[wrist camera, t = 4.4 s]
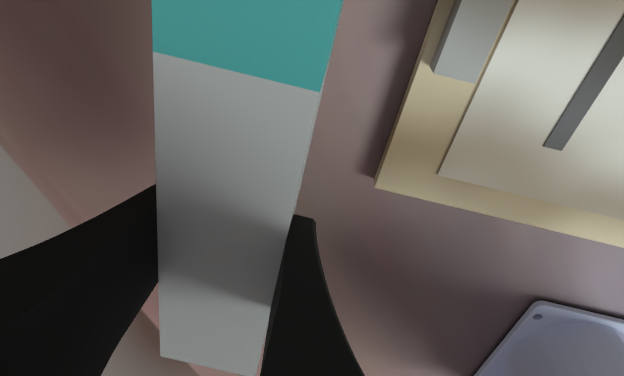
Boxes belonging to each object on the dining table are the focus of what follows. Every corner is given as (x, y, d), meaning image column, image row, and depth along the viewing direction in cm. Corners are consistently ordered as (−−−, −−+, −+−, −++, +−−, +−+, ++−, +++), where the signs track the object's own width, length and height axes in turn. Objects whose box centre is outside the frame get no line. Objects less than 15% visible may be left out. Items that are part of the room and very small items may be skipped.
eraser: (267, 328, 16) (250, 396, 13) (191, 310, 16) (160, 375, 13) (365, -91, 8) (364, -105, 6) (212, -130, 8) (147, -160, 5)
